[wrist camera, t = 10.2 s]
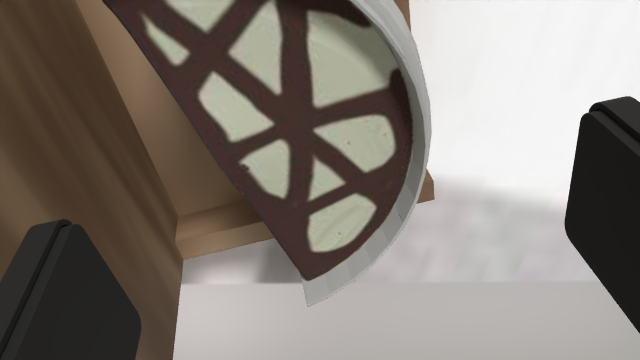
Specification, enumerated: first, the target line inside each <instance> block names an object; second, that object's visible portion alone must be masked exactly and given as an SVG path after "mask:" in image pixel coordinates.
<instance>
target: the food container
mask: <svg viewBox="0 0 640 360" xmlns="http://www.w3.org/2000/svg"><path fill="white" fill-rule="evenodd" d="M102 2H103V3H104V4H105V5H106V6H107V7H108V8H109V9H110V10H111V11H112V12H113V14H114V15H115V16H116V17H117V18H118V20H119V21H120V22H121V24H122V25H123V26H124V28H125V29H126V30H127V31H128V33H129V34H130V35H131V37H132V38H133V40H134V41H135V43H136V44H137V45H138V47H139V48H140V50H141V51H142V53H143V54H144V55H145V57H146V58H147V60H148V61H149V63H150V64H151V65H152V67H153V68H154V70H155V71H156V72H157V74H158V75H159V77H160V78H161V80H162V81H163V83H164V84H165V86H166V87H167V89H168V90H169V91H170V93H171V94H172V96H173V97H174V99H175V100H176V102H177V103H178V105H179V106H180V108H181V109H182V111H183V112H184V114H185V115H186V117H187V118H188V120H189V121H190V123H191V124H192V126H193V128H194V129H195V131H196V132H197V134H198V135H199V137H200V138H201V140H202V141H203V143H204V144H205V146H206V147H207V149H208V151H209V152H210V154H211V155H212V157H213V158H214V160H215V161H216V163H217V164H218V166H219V167H220V169H221V170H222V171H223V173H224V174H225V175H226V176H227V177H228V179H229V180H230V181H231V182H232V184H233V185H234V186H235V187H236V189H237V190H238V191H239V192H240V193H241V195H242V196H243V197H244V198H245V199H246V200H247V202H248V203H249V204H250V206H251V207H252V208H253V209H254V211H255V212H256V213H257V214H258V216H259V217H260V218H261V220H262V221H263V222H264V223H265V225H266V226H267V227H268V229H269V230H270V232H271V233H272V234H273V236H274V237H275V239H276V240H277V241H278V243H279V244H280V245H281V247H282V248H283V250H284V251H285V252H286V254H287V255H288V257H289V258H290V259H291V261H292V262H293V263H294V265H295V266H296V268H297V269H298V270H299V272H300V273H301V277H302V282H303V287H304V292H305V297H306V302H307V306H308V307H309V306H311V305H313V304H315V303H317V302H319V301H322V300H323V299H326V298H328V297H330V296H331V295H333V294H335V293H336V292H338V291H339V290H341V289H343V288H344V287H345V286H347V285H349V284H350V283H352V282H353V281H355V280H356V279H357V278H358V277H359V276H361V275H362V274H363V273H364V272H365V271H367V270H368V269H369V268H370V267H372V266H373V265H374V264H375V263H376V262H377V261H378V259H379V258H380V257H381V256H382V255H383V254H384V253H385V252H386V251H387V250H388V249H389V248H390V247H391V245H392V244H393V242H394V241H395V240H396V238H397V237H398V235H399V234H400V232H401V231H402V229H403V228H404V227H405V225H406V224H407V221H408V219H409V217H410V215H411V213H412V211H413V209H414V207H415V205H416V203H417V201H418V198H419V195H420V191H421V188H422V185H423V181H424V178H425V175H426V166H427V162H428V157H429V149H430V140H431V115H430V101H429V96H428V92H427V88H426V83H425V79H424V74H423V70H422V66H421V62H420V58H419V54H418V50H417V46H416V43H415V41H414V39H413V37H412V34H411V32H410V30H409V28H408V25H407V23H406V21H405V19H404V16H403V14H402V13H401V11H400V10H399V8H398V7H397V5H396V4H395V2H394V1H393V0H102Z"/></svg>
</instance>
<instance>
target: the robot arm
mask: <svg viewBox="0 0 640 360" xmlns="http://www.w3.org/2000/svg"><path fill="white" fill-rule="evenodd" d="M565 230H566V234H567V236H568V238H569V240H570V241H571V243H572V244H573V245H574V247H575V248H576V249H577V251H578V252H579V253H580V255H581V256H582V257H583V259H584V260H585V261H586V263H587V264H588V265H589V267H590V268H591V269H592V271H593V272H594V273H595V275H596V276H597V277H598V279H599V280H600V281H601V283H602V284H603V285H604V287H605V288H606V289H607V290H608V292H609V293H610V294H611V296H612V297H613V299H614V300H615V301H616V303H617V304H618V305H619V307H620V308H621V309H622V311H623V312H624V313H625V314H626V316H627V317H628V319H629V320H630V321H631V323H632V324H633V325H634V326H635V328H636V329H637V331H638V332H639V333H640V102H639V101H637V100H636V99H634V98H632V97H629V96H625V97H621V98H616V99H612V100H607V101H602V102H598V103H595V104H593V105H592V106H591V108H590V109H589V113H586V114H584V115H583V116H582V118H581V121H580V127H579V133H578V140H577V146H576V152H575V159H574V165H573V171H572V178H571V184H570V190H569V197H568V203H567V210H566V216H565ZM140 335H141V319H140V316H139V313H138V311H137V310H136V308H135V307H134V305H133V304H132V302H131V301H130V299H129V298H128V296H127V295H126V293H125V291H124V290H123V288H122V287H121V285H120V284H119V282H118V281H117V279H116V278H115V276H114V274H113V273H112V271H111V270H110V268H109V267H108V265H107V264H106V262H105V261H104V259H103V258H102V256H101V254H100V253H99V251H98V250H97V248H96V247H95V245H94V244H93V242H92V241H91V239H90V237H89V236H88V234H87V233H86V231H85V230H84V228H83V227H82V226H80V225H79V224H74V225H73V224H72V222H71V221H69V220H67V219H60V220H56V221H51V222H46V223H42V224H37V225H34V226H32V227H30V229H29V230H28V231H27V233H26V235H25V237H24V239H23V241H22V242H21V244H20V246H19V248H18V250H17V252H16V254H15V255H14V257H13V259H12V261H11V263H10V265H9V267H8V268H7V270H6V272H5V274H4V276H3V278H2V280H1V281H0V360H135V358H136V353H137V349H138V344H139V339H140Z"/></svg>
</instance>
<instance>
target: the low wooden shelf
mask: <svg viewBox="0 0 640 360" xmlns="http://www.w3.org/2000/svg"><path fill="white" fill-rule="evenodd" d="M393 1H394V2H395V4H396V5H397V7H398V8H399V10H400V11H401V13H402V14H403V16H404V19H405V21H406V23H407V25H408V28H409V30H410V32H411V26H410V13H409V0H393ZM430 200H434V184H433V179H432V177H431V176H430V174H429V172H428V170H427V169H426V175H425V178H424V181H423V185H422V188H421V191H420V195H419V198H418V201H417V203H416V204H418V203H422V202H426V201H430ZM60 219H67V220H69V221H71V222H72V224H73V225H74V224H79V225H80V226H82V227H83V228H84V230H85V231H86V233H87V234H88V236H89V237H90V239H91V241H92V242H93V244H94V245H95V247H96V248H97V250H98V251H99V253H100V254H101V256H102V258H103V259H104V261H105V262H106V264H107V265H108V267H109V268H110V270H111V271H112V273H113V274H114V276H115V278H116V279H117V281H118V282H119V284H120V285H121V287H122V288H123V290H124V291H125V293H126V295H127V296H128V298H129V299H130V301H131V302H132V304H133V305H134V307H135V308H136V310H137V311H138V313H139V316H140V319H141V335H140V339H139V344H138V349H137V353H136V358H135V360H173V351H174V341H175V332H176V322H177V314H178V305H179V295H180V286H181V277H182V268H183V260H184V259H188V258H193V257H197V256H201V255H205V254H209V253H213V252H218V251H222V250H226V249H230V248H234V247H238V246H243V245H247V244H251V243H255V242H259V241H263V240H268V239H272V238H275V237H274V236H273V234H272V233H271V232H270V230H269V229H268V227H267V226H266V225H265V223H264V222H263V221H262V220H261V218H260V217H259V216H258V214H257V213H256V212H255V211H254V209H253V208H252V207H251V206H250V204H249V203H248V202H247V200H246V199H245V198H244V197H243V196H242V195H241V193H240V192H239V191H238V190H237V189H236V187H235V186H234V185H233V184H232V182H231V181H230V180H229V179H228V177H227V176H226V175H225V174H224V173H223V171H222V170H221V169H220V167H219V166H218V164H217V163H216V161H215V160H214V158H213V157H212V155H211V154H210V152H209V151H208V149H207V147H206V146H205V144H204V143H203V141H202V140H201V138H200V137H199V135H198V134H197V132H196V131H195V129H194V128H193V126H192V124H191V123H190V121H189V120H188V118H187V117H186V115H185V114H184V112H183V111H182V109H181V108H180V106H179V105H178V103H177V102H176V100H175V99H174V97H173V96H172V94H171V93H170V91H169V90H168V89H167V87H166V86H165V84H164V83H163V81H162V80H161V78H160V77H159V75H158V74H157V72H156V71H155V70H154V68H153V67H152V65H151V64H150V63H149V61H148V60H147V58H146V57H145V55H144V54H143V53H142V51H141V50H140V48H139V47H138V45H137V44H136V43H135V41H134V40H133V38H132V37H131V35H130V34H129V33H128V31H127V30H126V29H125V28H124V26H123V25H122V24H121V22H120V21H119V20H118V18H117V17H116V16H115V15H114V14H113V12H112V11H111V10H110V9H109V8H108V7H107V6H106V5H105V4H104V3H103V2H102V0H0V281H1V280H2V278H3V276H4V274H5V272H6V270H7V268H8V267H9V265H10V263H11V261H12V259H13V257H14V255H15V254H16V252H17V250H18V248H19V246H20V244H21V242H22V241H23V239H24V237H25V235H26V233H27V231H28V230H29V229H30V227H32V226H34V225H37V224H42V223H46V222H51V221H56V220H60Z"/></svg>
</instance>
